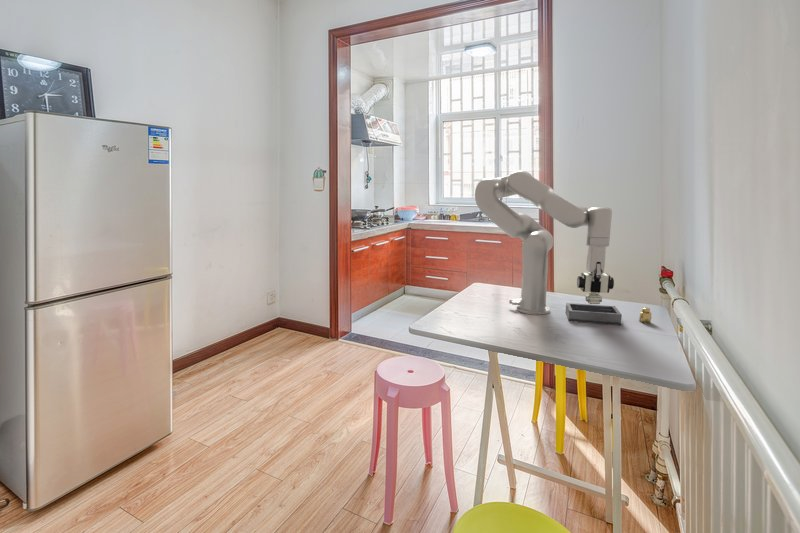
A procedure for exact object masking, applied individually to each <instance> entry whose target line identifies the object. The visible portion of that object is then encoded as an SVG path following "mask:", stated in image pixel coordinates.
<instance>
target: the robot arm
mask: <svg viewBox="0 0 800 533" xmlns="http://www.w3.org/2000/svg"><path fill="white" fill-rule="evenodd" d="M474 189H475V190H474V201H475V203H476V205H477V207H478V209H479V210H480V212H481V213H482V214H483V215H484V216H486V218H488V219H489V220H490V221H491V222H493V223H494V224H495V225H496V226H497V227H498V228H500V230H502V231H503V232H504V233H505V234H506V235H507V236H508V237H510V238H513V239H517V238H518V239H520V240H521V241H523V242H522V245H521V256H522V271H521V275H522V276H521V292H520V293H521V294H520V295H521V296H520V298H517V299H514V298H509V304H511V305H513V306H514V305H515V306H516V310H517V311H518V312H520V313H522V314H526V315H537V316H538V315H540V316H541V315H547V314H549V313H550V307H549V306H546V304H547V292H548V291H547V290H548V275H549V274H548V273H549V272H548V271H549V254H548V253H549V251H551V249H552V248H553V247H554V243H555V239H554V236H553V235H552V234H551V232H550V231H548V229H546V228H545V227H543V225H541V224H540V223H539V222H538V221H536V220H535V219H534V218H532V217H531V216H530V215H528V214H525V213H521V212H520V213H517V212H516V211H515V210H513V209H512V208H511V207H510V206H509V205H507V204H506V203H505V202H503V201H502V200H501V199H502V198H506V197H510V196H515V195H517V196H519V197H521V198H522V199H524V200H526V201H528V202H529V203H531V204H533V205H534V206H536V207H537V208H538V209H540V210H541V211H543V212H544V213H546V214H547V215H548V216H550V217H551V218H553V219H554V220H557V221H558V222H559V223H561V224H563V225H565V226H566V227H569V228H571V229H577V228H581V227H584V226H586V227H587V230H586V231H587V232H586V246H587V247H588V249H587V253H586V254H587V255H586V264H585V270H586V271H587V273H592V281H591V292H596V293H599V294H601V292H600V289H601V274H605V265H606V253H607V248H606V247H608V248H609V247H610V239H611V228H612V215H613V211H612V209H611V208H610V207H604V206H603V207H602V206H600V207H599V206H598V207H594V206H593V207H587V206H581V205H579V206H578V205H577V206H576V205H574V204H573V203H571V202H570V201H568V200H566V199H564V198H563V197H561V196H560V195H559V194H557V193H556V192H555V189H553V188H552V187H551V186H550V185H547V184H546V183H544V182H542V181H540V180H538V179H537V178H535V177H533V175H532V173H531V172H529V171H525V170H520V169H518V170H514V171H512V172H510V174H509V175H505V176H501V177H486V178H482V179H481V180H480V181H478V183H477V185H476V187H475V188H474ZM594 272H596V273H594ZM594 275H595V276H594ZM591 292H590V293H591Z"/></svg>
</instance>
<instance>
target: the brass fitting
mask: <svg viewBox="0 0 800 533" xmlns="http://www.w3.org/2000/svg"><path fill="white" fill-rule="evenodd" d="M651 320H652V312H651V308H649V307H642V309H641V311H639V319H638V322H639V323H642V324H645V323H647V324H651V323H652V322H651Z"/></svg>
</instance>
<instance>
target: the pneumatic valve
mask: <svg viewBox="0 0 800 533" xmlns="http://www.w3.org/2000/svg"><path fill="white" fill-rule="evenodd" d="M594 273H596V272H594ZM594 276H595V275H594ZM591 281H592V273H589V272H581V275H579V276H577V278H576V286H577V288H578V289H580V290H581V291H582V292H583V293H585V292H586V293H587V294H586V295H585V301H586V302H587V303H588V304H589V305H601V303H602V301H603V297H602V295H600V293H606V294H607V293H610V291H611V290H613V289H614V286H615V281H614V277H611V275H610V274H609V273H603V274H601V289H600V293H596V292H591Z"/></svg>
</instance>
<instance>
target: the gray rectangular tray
mask: <svg viewBox="0 0 800 533" xmlns="http://www.w3.org/2000/svg"><path fill="white" fill-rule="evenodd" d="M565 316H566V319H567V321H568V322H571V323H584V324H597V325H611V326H621V325H622V317H623V315H622V313H621V311H620V310H619V309H618V308H617V307H616V306H615V305H603V304H602V305H601V304H590V303H588V304H586V303H573V302H566V304H565Z"/></svg>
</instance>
